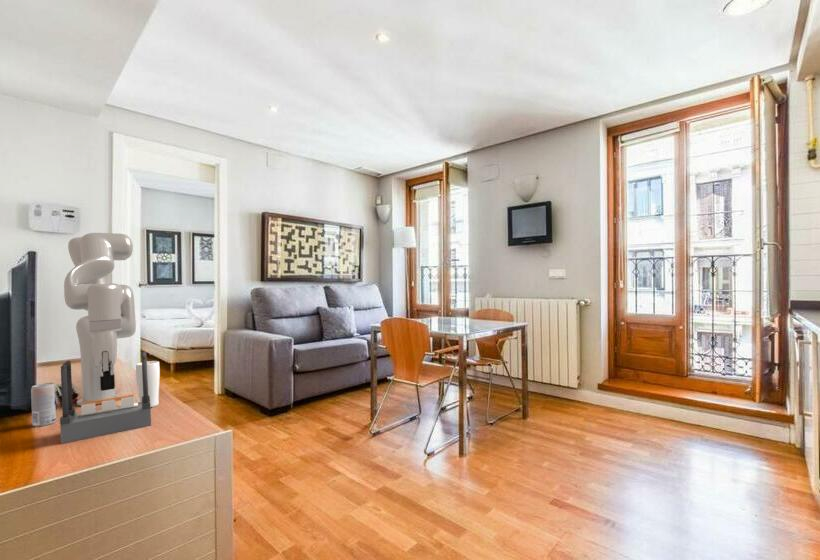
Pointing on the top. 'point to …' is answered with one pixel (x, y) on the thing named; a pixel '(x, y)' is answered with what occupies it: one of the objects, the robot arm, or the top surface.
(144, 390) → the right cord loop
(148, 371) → the white cylinder
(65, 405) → the dark gray upright panel
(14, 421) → the top surface
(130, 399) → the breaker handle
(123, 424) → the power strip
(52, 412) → the energy drink
